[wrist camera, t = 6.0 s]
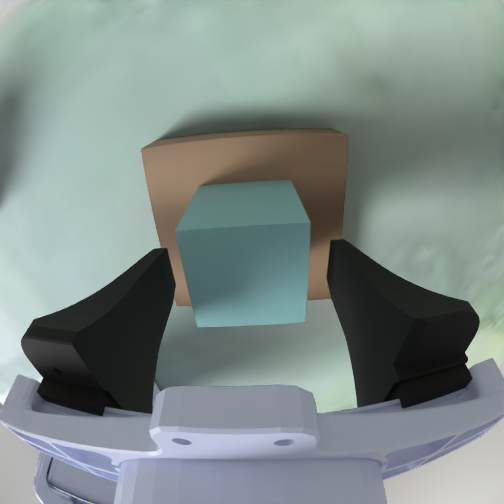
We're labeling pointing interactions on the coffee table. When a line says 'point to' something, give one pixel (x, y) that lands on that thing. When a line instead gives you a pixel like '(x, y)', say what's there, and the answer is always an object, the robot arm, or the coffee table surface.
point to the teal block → (246, 254)
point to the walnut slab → (251, 170)
